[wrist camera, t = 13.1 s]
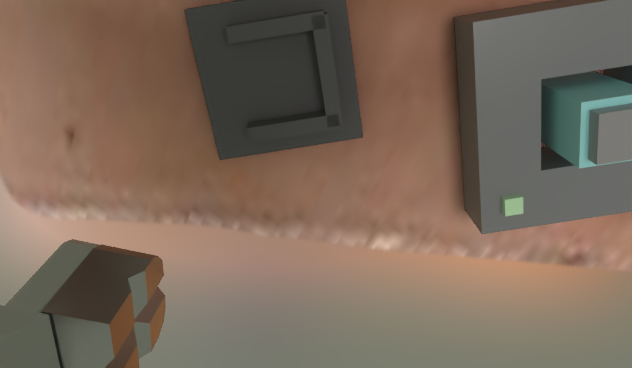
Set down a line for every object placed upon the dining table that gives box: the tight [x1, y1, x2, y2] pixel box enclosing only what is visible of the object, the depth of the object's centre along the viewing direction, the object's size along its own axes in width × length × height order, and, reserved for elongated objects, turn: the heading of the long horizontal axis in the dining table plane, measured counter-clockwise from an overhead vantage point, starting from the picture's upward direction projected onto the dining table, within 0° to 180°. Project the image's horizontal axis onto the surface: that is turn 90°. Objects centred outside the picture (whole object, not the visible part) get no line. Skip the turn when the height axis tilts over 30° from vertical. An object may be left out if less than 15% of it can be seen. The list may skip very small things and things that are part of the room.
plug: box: [541, 71, 632, 168], centre depth 33 cm, size 4×4×8 cm
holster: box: [185, 0, 363, 160], centre depth 35 cm, size 10×10×2 cm
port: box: [454, 0, 632, 234], centre depth 35 cm, size 14×14×5 cm
